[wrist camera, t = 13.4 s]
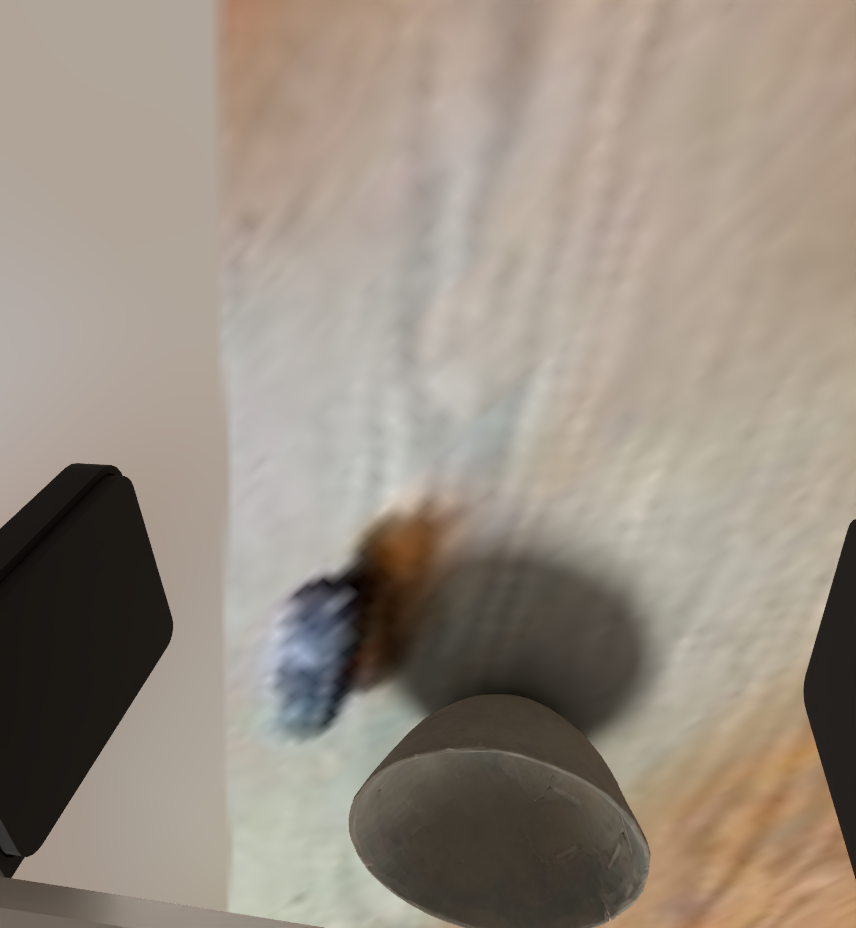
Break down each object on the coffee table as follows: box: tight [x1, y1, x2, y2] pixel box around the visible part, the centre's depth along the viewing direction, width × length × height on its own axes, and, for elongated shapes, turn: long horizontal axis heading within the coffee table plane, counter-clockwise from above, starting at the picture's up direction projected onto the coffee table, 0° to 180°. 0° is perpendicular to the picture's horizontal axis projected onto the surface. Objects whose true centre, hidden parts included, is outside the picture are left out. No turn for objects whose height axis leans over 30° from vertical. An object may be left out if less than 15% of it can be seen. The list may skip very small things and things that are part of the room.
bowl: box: [349, 694, 650, 928], centre depth 52 cm, size 19×19×10 cm
